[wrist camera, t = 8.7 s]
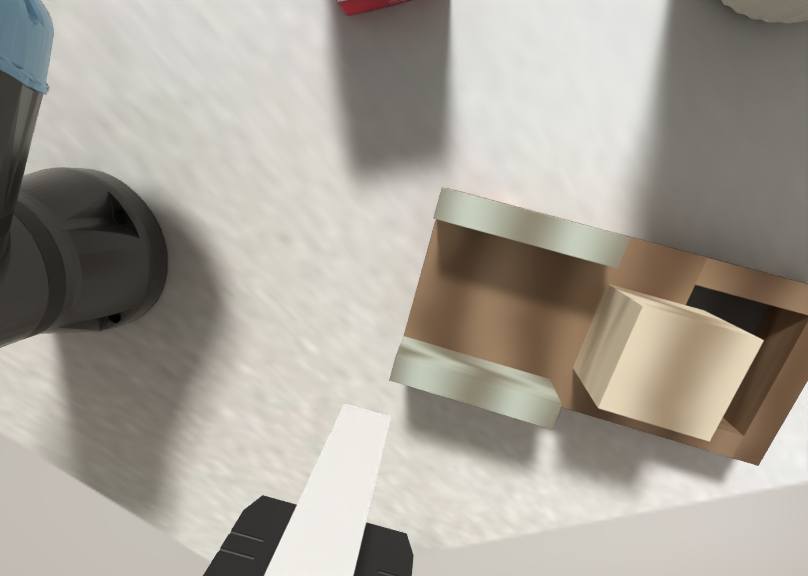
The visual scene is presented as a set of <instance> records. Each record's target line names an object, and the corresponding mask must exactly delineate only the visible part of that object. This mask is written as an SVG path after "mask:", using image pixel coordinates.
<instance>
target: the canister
mask: <svg viewBox="0 0 808 576" xmlns="http://www.w3.org/2000/svg"><path fill="white" fill-rule="evenodd" d="M721 1H722V3H723V5H727V6H729V7H731V8H732V9H733V10H734V11H735V12H736V13H739V14H744V15H746V16H748V17H749V18H750V19H753V20H755V19H761V20H763V21H765V22H768V23H776V22H782V23H797V22H801V21H808V0H721Z"/></svg>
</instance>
